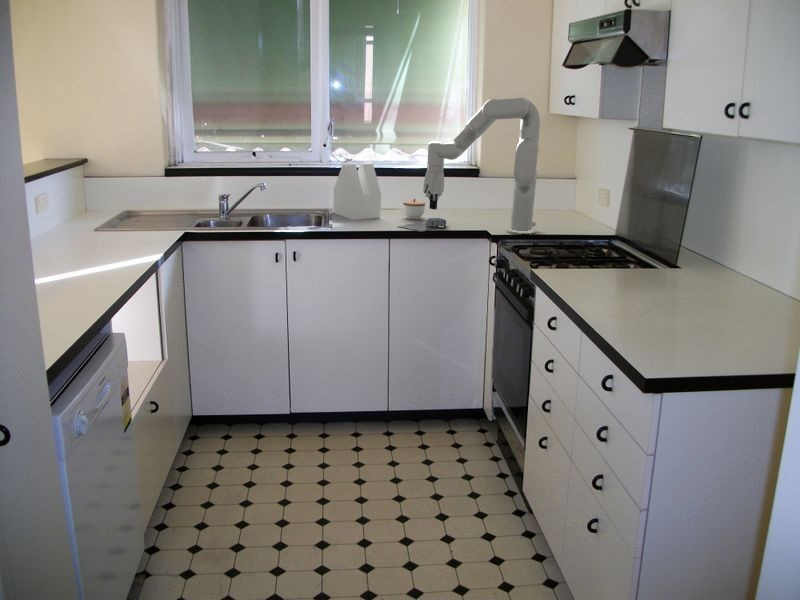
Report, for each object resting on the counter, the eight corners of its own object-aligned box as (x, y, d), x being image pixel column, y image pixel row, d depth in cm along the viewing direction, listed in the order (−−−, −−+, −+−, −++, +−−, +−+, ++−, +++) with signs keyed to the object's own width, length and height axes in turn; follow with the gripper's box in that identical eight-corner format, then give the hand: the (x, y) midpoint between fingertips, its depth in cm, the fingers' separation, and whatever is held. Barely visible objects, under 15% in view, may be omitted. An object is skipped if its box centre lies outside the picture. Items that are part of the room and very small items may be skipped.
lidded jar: (398, 216, 398) (399, 197, 395) (418, 215, 402) (419, 196, 400) (408, 220, 389) (409, 201, 386) (428, 219, 393) (429, 200, 391)
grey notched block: (333, 212, 400) (334, 161, 393) (360, 211, 408) (361, 160, 402) (352, 219, 385) (353, 166, 378) (380, 217, 393) (382, 165, 386)
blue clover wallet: (426, 223, 381) (424, 227, 371) (427, 217, 381) (425, 220, 370) (446, 225, 381) (445, 228, 370) (446, 218, 380) (445, 222, 370)
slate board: (421, 222, 385) (421, 221, 384) (444, 227, 376) (444, 226, 376) (397, 226, 372) (397, 226, 372) (421, 231, 363) (421, 230, 363)
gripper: (439, 167, 381) (436, 206, 386) (418, 169, 370) (416, 209, 375) (451, 169, 376) (449, 208, 381) (431, 171, 365) (429, 211, 370)
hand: (433, 208), depth 378 cm, fingers closed
